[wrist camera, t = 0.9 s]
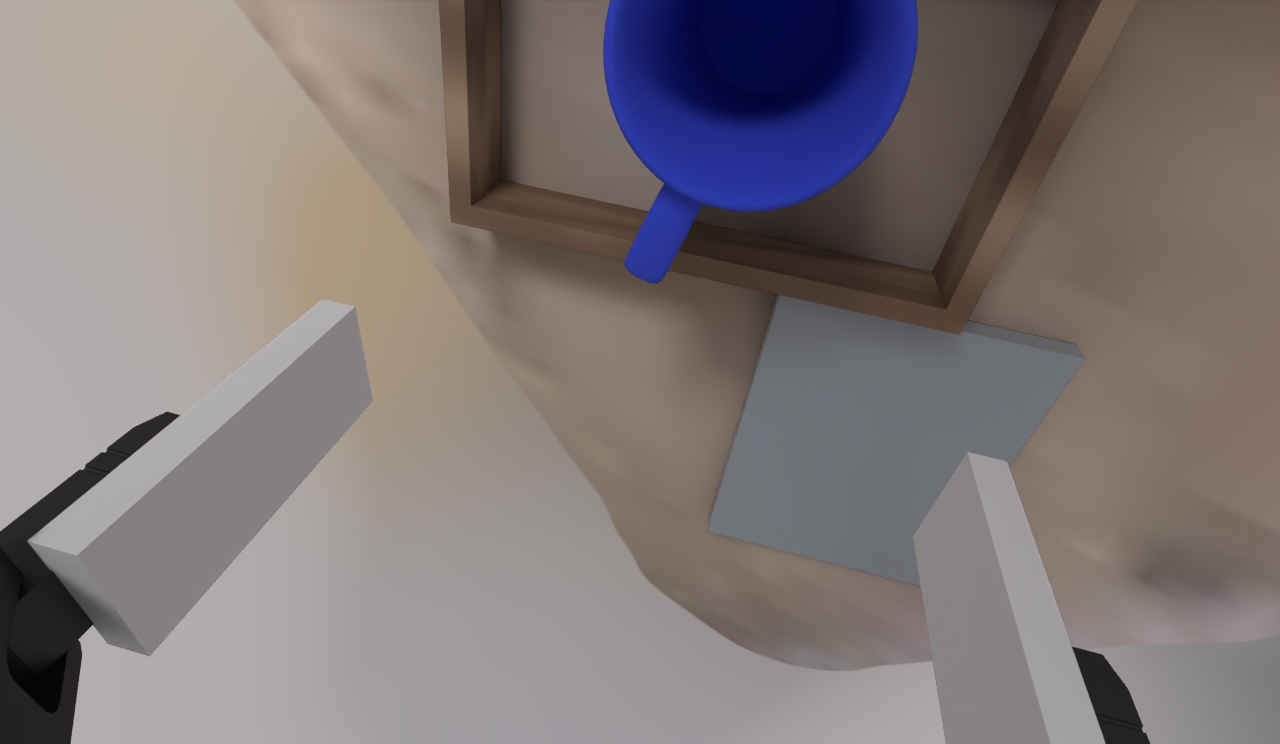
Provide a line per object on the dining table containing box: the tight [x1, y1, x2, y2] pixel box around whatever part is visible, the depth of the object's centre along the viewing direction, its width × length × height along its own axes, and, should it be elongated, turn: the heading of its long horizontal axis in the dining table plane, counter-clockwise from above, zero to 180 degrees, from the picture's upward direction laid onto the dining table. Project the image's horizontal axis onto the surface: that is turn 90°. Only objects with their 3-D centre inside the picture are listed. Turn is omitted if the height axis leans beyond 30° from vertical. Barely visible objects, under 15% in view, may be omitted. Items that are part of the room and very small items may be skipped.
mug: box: [603, 0, 918, 283], centre depth 22 cm, size 8×12×10 cm
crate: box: [439, 0, 1138, 335], centre depth 24 cm, size 16×23×4 cm
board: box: [707, 295, 1085, 587], centre depth 35 cm, size 18×14×1 cm
